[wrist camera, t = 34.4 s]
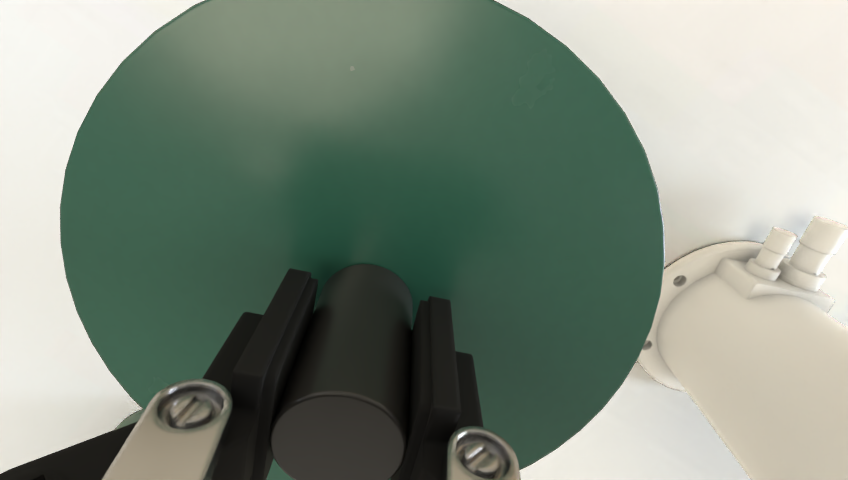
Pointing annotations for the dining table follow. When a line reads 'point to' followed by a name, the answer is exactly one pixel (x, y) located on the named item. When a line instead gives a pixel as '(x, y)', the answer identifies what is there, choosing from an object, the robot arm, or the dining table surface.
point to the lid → (366, 216)
